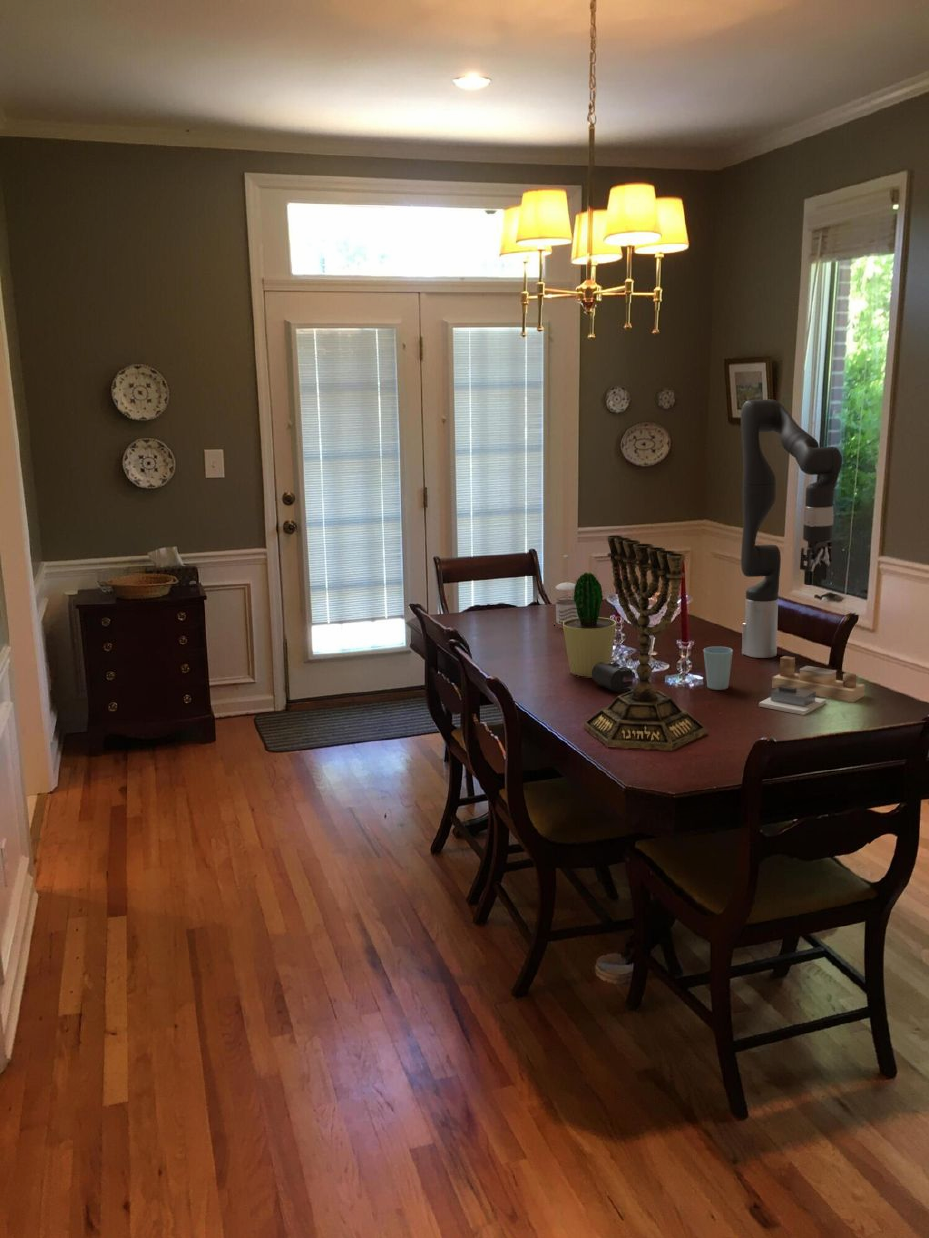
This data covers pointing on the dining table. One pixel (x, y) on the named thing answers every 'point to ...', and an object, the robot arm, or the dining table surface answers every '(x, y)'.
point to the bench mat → (792, 706)
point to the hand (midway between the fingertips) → (815, 581)
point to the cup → (718, 667)
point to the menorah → (645, 654)
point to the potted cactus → (588, 628)
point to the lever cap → (793, 696)
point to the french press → (565, 601)
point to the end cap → (612, 677)
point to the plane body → (818, 681)
